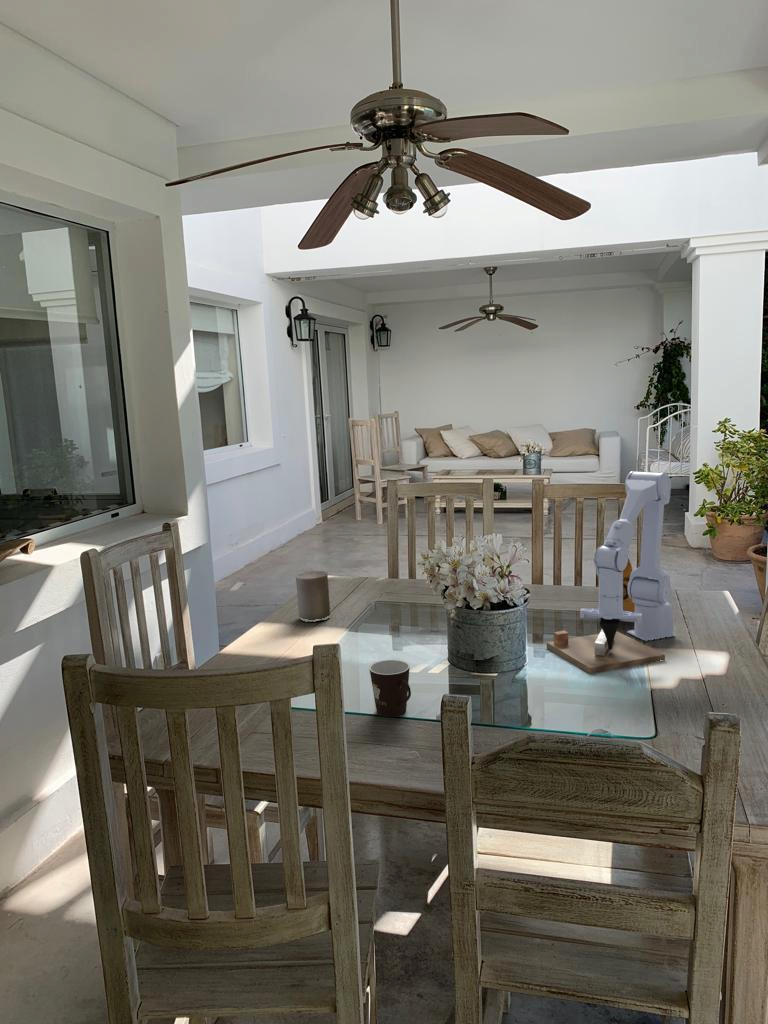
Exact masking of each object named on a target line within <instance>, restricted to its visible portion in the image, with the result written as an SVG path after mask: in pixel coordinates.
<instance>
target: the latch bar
mask: <svg viewBox="0 0 768 1024" xmlns="http://www.w3.org/2000/svg"><path fill="white" fill-rule="evenodd" d="M598 634H599V636H598V638H597V639H596V641H595V655H601V656H605V654H606V652H607V650H608V643H607V639H606V636H605V634H604V632H603V630H602V628H601V630H600V632H599V633H598Z"/></svg>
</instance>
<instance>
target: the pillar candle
mask: <svg viewBox="0 0 768 1024" xmlns="http://www.w3.org/2000/svg"><path fill="white" fill-rule="evenodd" d="M328 575H329V574H328V572H326V571H323V570H308V571H302V572H299V573H297V574H296V575H295V582H296V583H295V584H296V594H297V595H296V597H297V607H298V609H297V611H298V618H299V617H301V618H303V619H308V620H315V619H322V618H325V617H327V616H329V615H331V605H330V604H331V603H330V602H331V601H330V591H329V589H330V588H329V578H328Z"/></svg>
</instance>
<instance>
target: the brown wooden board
mask: <svg viewBox="0 0 768 1024" xmlns="http://www.w3.org/2000/svg"><path fill="white" fill-rule="evenodd" d="M599 634H600V633H595V634H589V635H583V636H577V637H570V638H569V632H567V631H566V630H560V631H554V632H553V640H552V641H547V642H546V649H548V650H549V651H551V652H553V654H556V655H557V656H560V657H561V658H563V659H565V660H566V661H568V662H570V663H571V664H573V665H574V664H575V665H574V666H577V667H578V668H579V669H582V670H583V671H584V670H585V671H584V672H586V673H588V674H589V675H592V674H597V673H603V672H609V671H613V670H614V671H615V670H620V669H625V668H629V667H630V668H631V667H636V666H641V665H647V664H646V663H648V664H652V663H651V662H653V663H657V662H656V661H659V662H661V661H660V660H664V661H666V654H665V653H663V652H661V651H659V650H658V649H657V650H656V649H655V648H653V647H650V646H648V645H646V644H644V643H642V642H640V641H638V640H636V639H633V638H632V637H629V636H627V635H626V634H624V633H622V632H619V631H618V630H617V631H616V634H615V637H614V641H613V648H612V649H608V650H607V652H606V654H605V656H601V655H595V641H596V639H597V638H598V636H599Z"/></svg>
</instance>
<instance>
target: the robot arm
mask: <svg viewBox="0 0 768 1024" xmlns="http://www.w3.org/2000/svg"><path fill="white" fill-rule="evenodd" d="M624 487H625V493H626V497H625V501H624V504H623V508H622V510H621V513H620V516H619V519H617V520H614V521H613V522H612V524H611V526H610V529H609V531H608V533H607V535H606V538H605V539H604V541H603V542H604V543H603V545H601V546H599V547H597V548H596V550H595V553H594V558H593V564H594V567H595V571H596V573H595V574H596V576H597V577H598V608H580V610H579V618H581V619H598V620H599V619H600V621H599V626H600V627H601V628H602V630H603V632H604V634H605V636H606V639H607V643H608V649H612V648H613V641H614V637H615V634H616V631H617V632H618V628H619V626H620V625H621V622H630V623H634V629H631V630H630V629H629V630H627V631H626V632H627V633H628V634H629V635H632V636H634V637H636V638H638V639H640V640H642V641H645V642H649V641H653V640H654V639H655V640H660V638H661V639H665V637H667V638H672V637H675V636H676V634H675V633H674V610H673V606H672V605H671V603H670V602H669V600H670V599H671V594H672V586H671V576H670V574H669V573H667V572H666V571H665V570H664V569H663V568H662V567H661V555H662V553H661V552H662V540H663V539H662V537H663V524H664V514H665V513H664V511H665V505H668V504H669V503H670V499H671V489H672V481H671V478H670V476H669V474H668V473H667V472H665V471H664V472H649V471H635V470H631V471H630V472H629V473H628V474H627V475H626V478H625V481H624ZM642 509H643V514H642V516H643V517H642V529H641V530H642V532H641V544H640V545H641V547H640V558H639V559H640V560H639V566H638V567H636V568H635V569H632V572H631V574H630V580H629V583H628V588H627V591H628V595H629V597H630V598H631V599H632V602H633V603H635V613H634V612H628V611H623V570H624V569H625V568H626V566H627V563H628V558H629V554H630V550H629V547H630V545H631V544H632V540H633V538H634V537H635V533H636V527H634V524H635V523H636V520H637V519H638V517H639V515H640V513H641V511H642ZM648 640H649V641H648ZM655 640H654V641H655Z"/></svg>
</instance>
